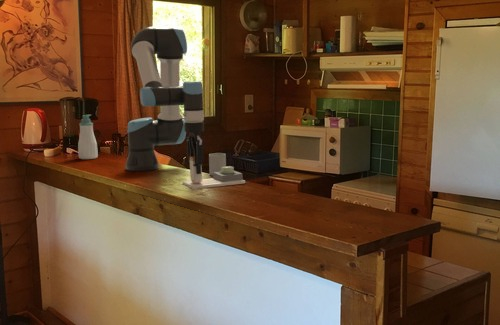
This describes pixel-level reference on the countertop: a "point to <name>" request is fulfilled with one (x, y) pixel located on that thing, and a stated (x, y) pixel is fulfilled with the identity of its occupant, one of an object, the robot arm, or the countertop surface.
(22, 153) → the countertop surface
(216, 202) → the countertop surface
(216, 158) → the cup
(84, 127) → the soap bottle
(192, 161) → the grey and orange block
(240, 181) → the board
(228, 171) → the button
